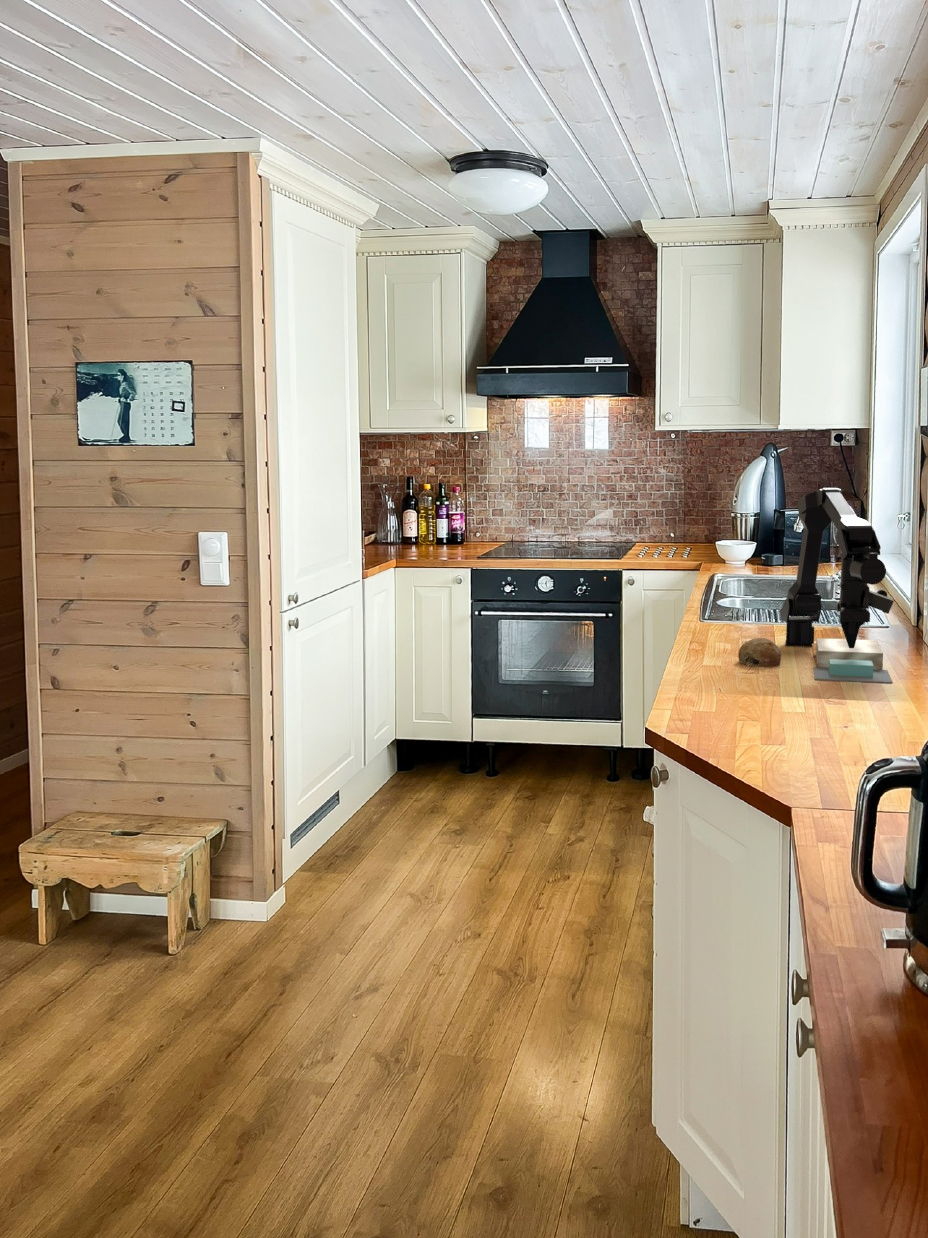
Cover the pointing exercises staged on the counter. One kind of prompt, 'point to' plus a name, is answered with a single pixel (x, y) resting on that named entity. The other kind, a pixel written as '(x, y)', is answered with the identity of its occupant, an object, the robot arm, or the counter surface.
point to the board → (848, 651)
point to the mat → (878, 676)
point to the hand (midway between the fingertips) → (851, 648)
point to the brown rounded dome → (760, 653)
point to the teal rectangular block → (851, 667)
